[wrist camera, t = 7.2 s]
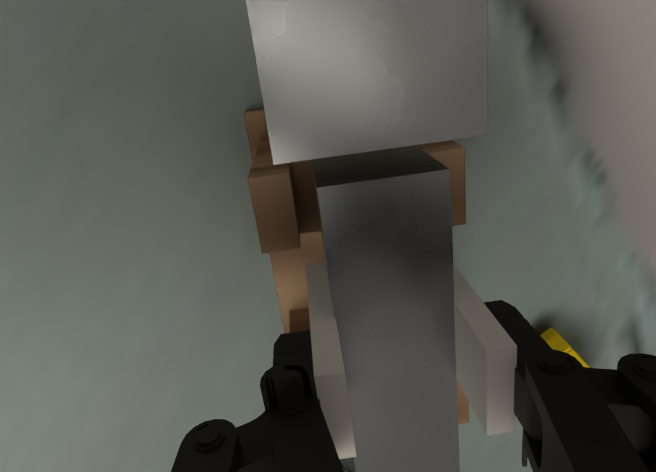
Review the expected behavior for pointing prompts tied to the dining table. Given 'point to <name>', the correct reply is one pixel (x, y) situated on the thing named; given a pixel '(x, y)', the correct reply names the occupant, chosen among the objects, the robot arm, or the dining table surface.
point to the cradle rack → (315, 220)
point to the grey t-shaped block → (382, 195)
